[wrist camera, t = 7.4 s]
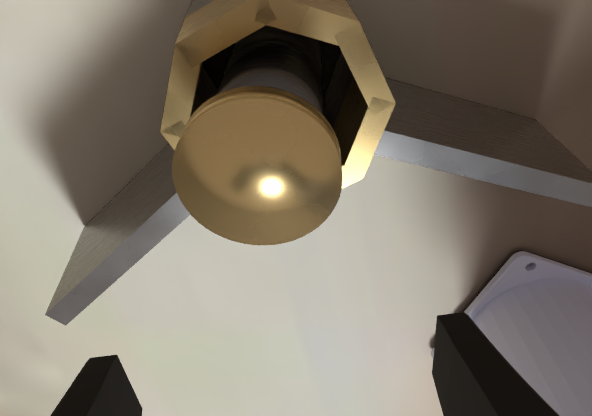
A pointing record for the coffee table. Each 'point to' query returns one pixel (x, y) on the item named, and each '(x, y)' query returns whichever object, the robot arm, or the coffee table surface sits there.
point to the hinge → (343, 119)
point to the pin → (262, 145)
